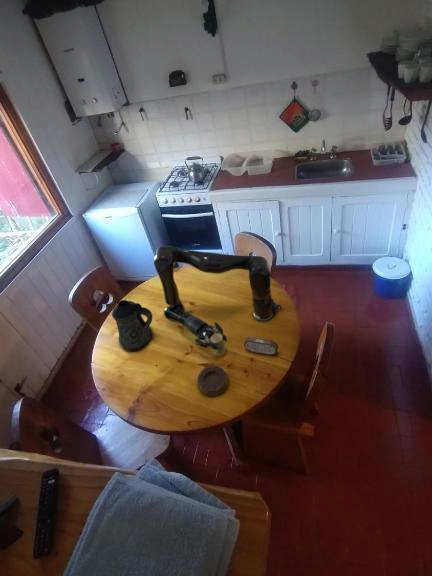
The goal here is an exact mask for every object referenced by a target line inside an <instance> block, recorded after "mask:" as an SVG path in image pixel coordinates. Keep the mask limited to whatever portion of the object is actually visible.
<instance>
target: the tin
mask: <svg viewBox="0 0 432 576" xmlns="http://www.w3.org/2000/svg"><path fill="white" fill-rule="evenodd" d="M243 345H244V348H245V349H246V350H247V351H249V352H252V353H256V354H261V355H268V356H272V355H276V354H277V352H278V349H279V344H278V343H277V342H276V341H274V340H273V339H268V338H264V337H263V338H262V337H257V336H247V337H246V338H245V339H244V343H243Z"/></svg>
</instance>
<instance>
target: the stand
mask: <svg viewBox="0 0 432 576" xmlns="http://www.w3.org/2000/svg"><path fill="white" fill-rule="evenodd" d="M227 374H228V373H226V371H225V369H224V368H222V367H220V366H218V365H212V366H211V365H210V366H209V365H208V366H207V367H205V368H203V369H202V370H201V371H200V373H199V374H198V376H197V385H198V387H199V389H200V391H201V392H202V394H203V395H205V396H207V397H217V396H220V395H222V394H223V393H224V392H225V391H226V389H228V386H229V385H228V383H229V382H228V375H227Z"/></svg>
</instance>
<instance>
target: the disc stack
mask: <svg viewBox="0 0 432 576" xmlns="http://www.w3.org/2000/svg"><path fill="white" fill-rule="evenodd" d="M210 342H212V343H214V344H215V345H216V346H217V349H213V348H212V349H213V353H214V354H215V355H216V356H222V355H225V353H226V346H225V341H224V340H223V338H222V335H221V334H219V333H216V334H213V335H212V336H211V338H210Z"/></svg>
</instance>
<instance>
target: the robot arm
mask: <svg viewBox="0 0 432 576" xmlns="http://www.w3.org/2000/svg"><path fill="white" fill-rule="evenodd" d="M268 261H269V260H267V258H265V257H263V256H261V255H239V254H238V255H236V254H228V253H227V254H226V253H219V252H218V253H217V252H210V251H209V252H208V251H201V250H200V251H199V250H191V249H185V248H182V247H181V248H180V247H176V246H170V245H162V246H159V247H158V248H157V249H156V251H155V255H154V258H153V265H154V268H155V271H156V273H157V275H158V278H159V280H160V282H161V287H162V293H163V297H164V303H165V304H166V305H167V307H165V309H164V310H163V316H164V318H165V319H166V320H167V321H169V322H171V323H175V324H179V325H181V326H182V327H183V328H185V329H186V330H187V331H188V332H189V333H191V334H192V335H194V336H196V338H194V342H195V345H197V346H198V347H201V348H204V349H207V348H208V347H210V349H217V346H216V345H215V344H214V343H212V342H211V336H212V335H213V334H216V333H219V334H221V335H222V338H223V342H227V335H226V334H224V330H223V329H224V328H223V327H221V325H219V323H217V321H216V322H214V323H213V325H210V324H208V323H207V322H205V321H203V320H202V319H201V318H200V317H198V316H196V315H194V314H192V313H191V312H190V311H188V310H186V308H185V306H184V304H183V302H182V299H181V297H180V293H179V287H178V285H177V283H176V281H175V277H174V270H175V269H174V268H175V264H177V263H179V264H186V265H188V266H190V267H193V268H194V269H196V270H198V271H200V272H203V273H207V274H214V275H215V274H216V275H220V274H224V273H227V272H230V271H233V270H234V271H235V270H243V271H248V279H249V280H248V281H249V287H250V292H251V293H250V294H251V300H252V301H251V302H252V308H253V317H254V318H255V319H256V321H260V322H266V321H269V320H271V319H272V318H273V316H274V315H275V312H277V311H279V310H280V311H282V309H283V307H282V305H281V304H277V303H276V302H275V301H274V298H272V289H271V288H272V287H271V272H270V266H269V262H268Z"/></svg>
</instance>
